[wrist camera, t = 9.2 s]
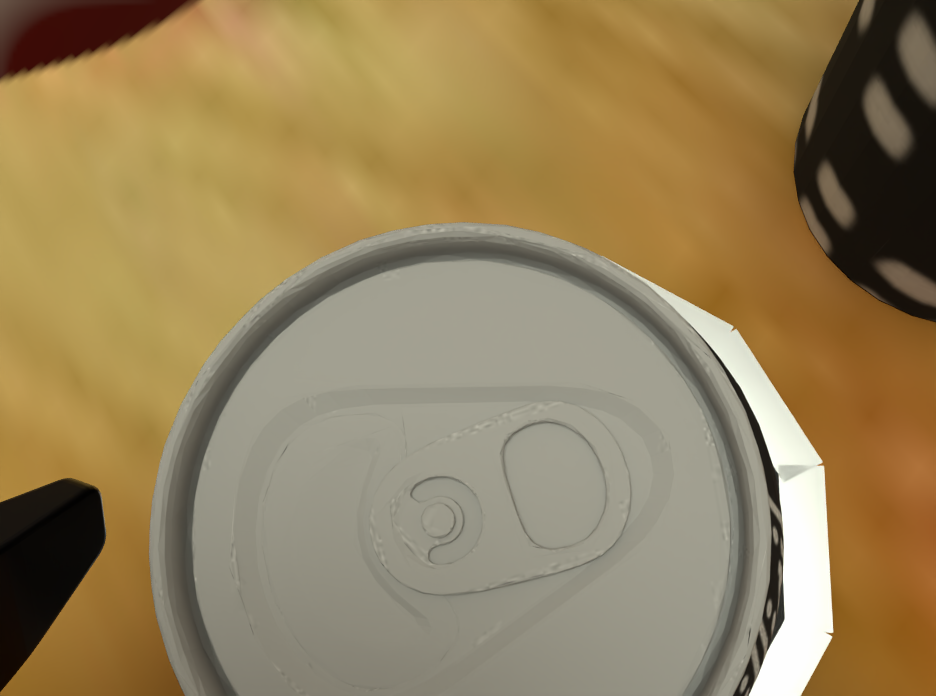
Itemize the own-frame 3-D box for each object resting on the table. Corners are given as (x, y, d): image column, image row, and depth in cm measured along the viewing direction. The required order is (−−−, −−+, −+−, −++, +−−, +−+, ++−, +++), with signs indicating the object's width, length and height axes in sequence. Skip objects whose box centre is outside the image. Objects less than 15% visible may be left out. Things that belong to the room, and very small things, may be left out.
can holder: (886, 654, 19) (982, 682, 14) (427, 902, 19) (377, 1010, 14) (622, 233, 22) (632, 146, 18) (230, 444, 22) (137, 413, 18)
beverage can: (353, 453, 20) (52, 303, 9) (618, 365, 20) (663, 91, 8) (431, 741, 19) (180, 1027, 7) (723, 649, 18) (962, 791, 7)
